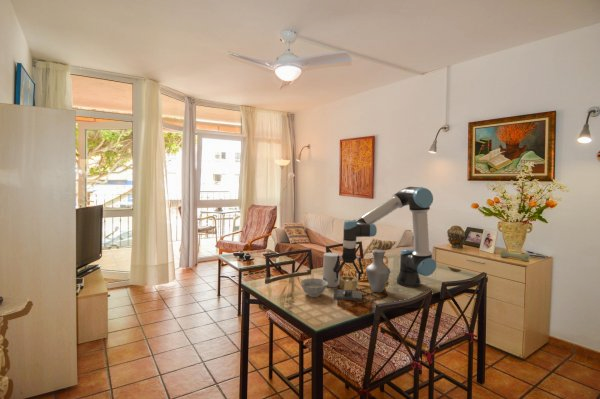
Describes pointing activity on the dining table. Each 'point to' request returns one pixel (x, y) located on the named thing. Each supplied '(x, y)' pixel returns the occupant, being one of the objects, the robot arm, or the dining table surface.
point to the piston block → (347, 294)
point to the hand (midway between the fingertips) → (347, 284)
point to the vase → (377, 271)
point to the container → (330, 269)
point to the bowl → (313, 286)
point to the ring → (348, 283)
